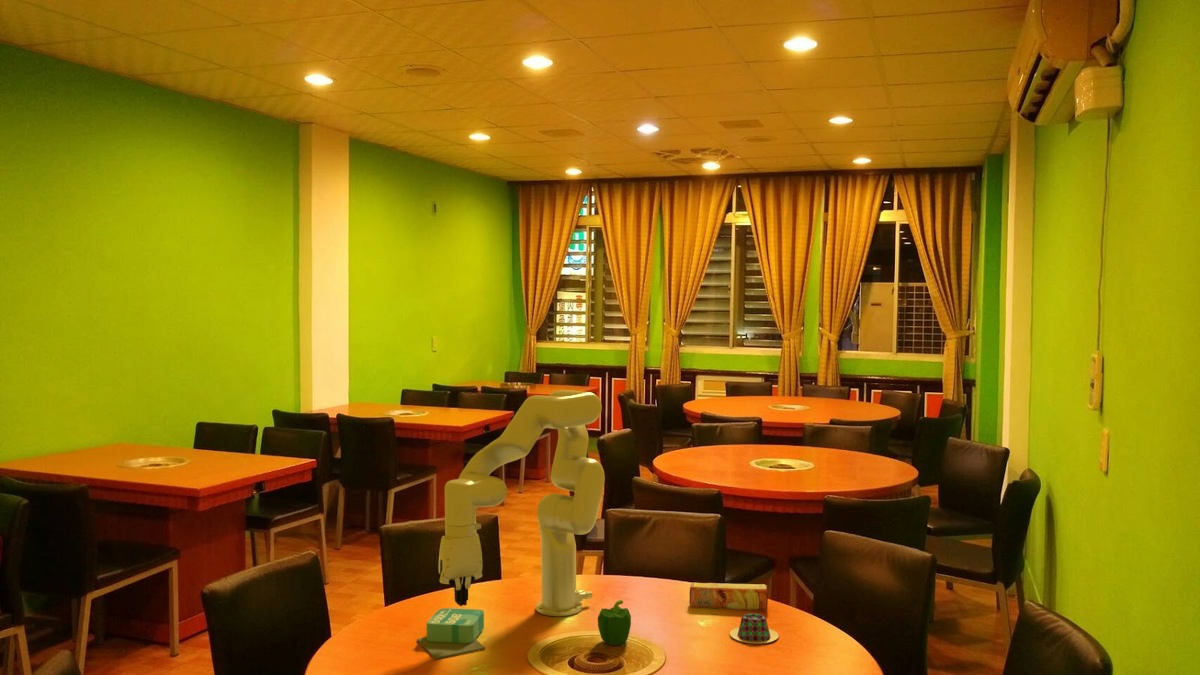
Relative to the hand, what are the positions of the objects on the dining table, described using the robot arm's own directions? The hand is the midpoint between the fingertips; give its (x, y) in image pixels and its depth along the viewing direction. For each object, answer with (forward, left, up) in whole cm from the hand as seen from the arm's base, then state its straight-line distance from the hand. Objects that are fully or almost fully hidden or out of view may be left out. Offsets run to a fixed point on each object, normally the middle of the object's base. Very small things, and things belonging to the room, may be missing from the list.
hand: (461, 604), depth 220 cm
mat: (+3, 0, -10) cm, 10 cm away
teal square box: (-5, -1, -7) cm, 9 cm away
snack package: (-73, +12, -10) cm, 74 cm away
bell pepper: (-33, +19, -10) cm, 39 cm away
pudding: (-65, +33, -10) cm, 73 cm away
